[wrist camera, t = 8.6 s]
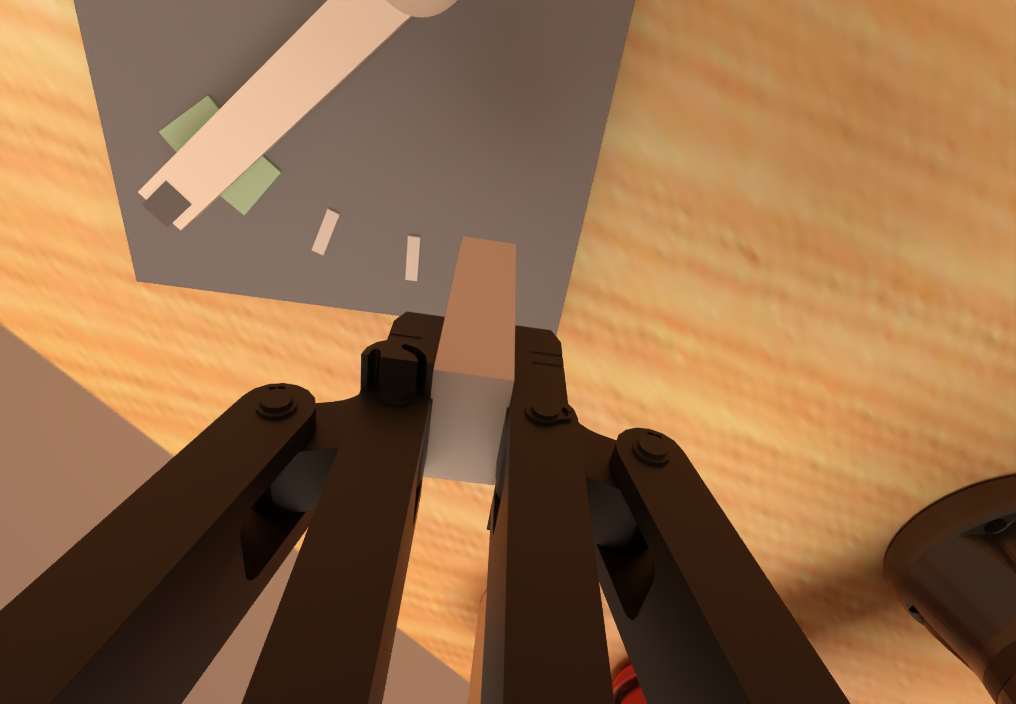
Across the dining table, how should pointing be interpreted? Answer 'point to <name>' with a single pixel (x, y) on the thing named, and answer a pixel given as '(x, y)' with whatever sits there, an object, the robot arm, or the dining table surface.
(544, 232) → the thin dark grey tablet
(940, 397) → the dining table surface
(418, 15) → the knob-ended beige rod
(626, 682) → the plant pot
